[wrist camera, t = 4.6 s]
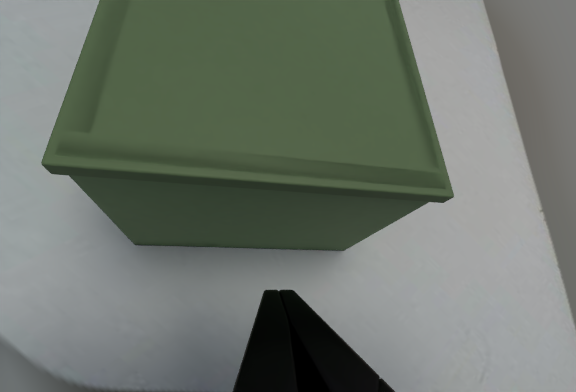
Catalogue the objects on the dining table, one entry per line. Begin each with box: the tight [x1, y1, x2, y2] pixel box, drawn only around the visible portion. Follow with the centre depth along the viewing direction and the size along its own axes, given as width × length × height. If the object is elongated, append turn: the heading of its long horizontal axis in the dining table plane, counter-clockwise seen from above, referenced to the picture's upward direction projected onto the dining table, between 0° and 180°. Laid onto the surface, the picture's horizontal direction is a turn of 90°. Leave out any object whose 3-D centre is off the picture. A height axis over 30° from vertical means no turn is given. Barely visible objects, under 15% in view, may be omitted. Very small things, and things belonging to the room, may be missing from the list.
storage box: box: [41, 0, 454, 251], centre depth 16 cm, size 16×12×9 cm
